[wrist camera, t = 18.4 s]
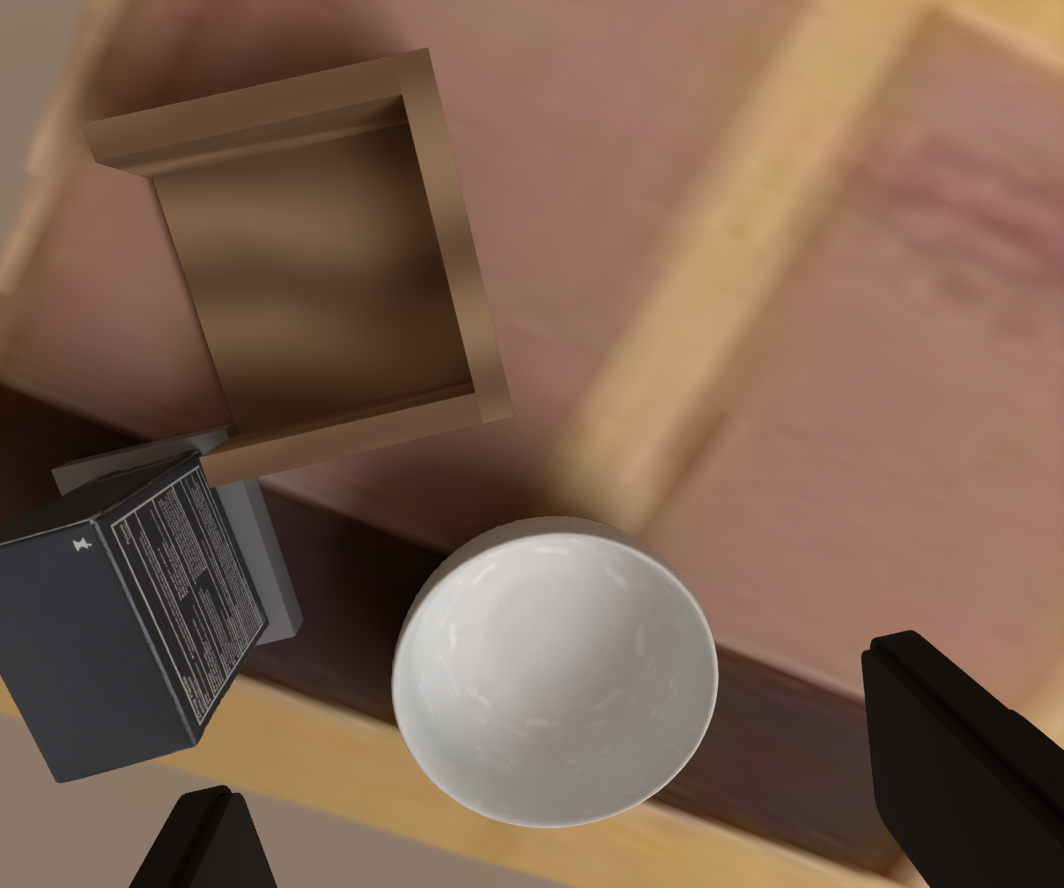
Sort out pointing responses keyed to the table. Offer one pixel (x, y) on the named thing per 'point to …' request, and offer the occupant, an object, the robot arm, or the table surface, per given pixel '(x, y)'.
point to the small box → (124, 616)
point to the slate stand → (240, 509)
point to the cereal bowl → (553, 673)
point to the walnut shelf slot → (323, 260)
